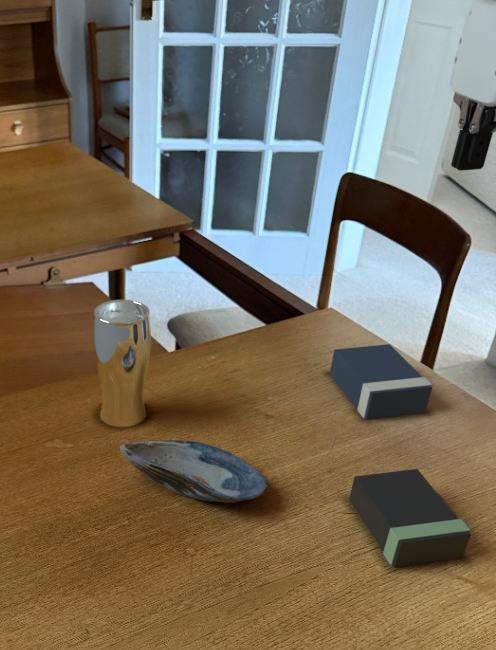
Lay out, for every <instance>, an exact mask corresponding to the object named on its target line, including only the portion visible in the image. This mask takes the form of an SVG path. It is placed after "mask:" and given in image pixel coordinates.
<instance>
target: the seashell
mask: <svg viewBox="0 0 496 650" xmlns="http://www.w3.org/2000/svg"><path fill="white" fill-rule="evenodd" d="M119 451H120V453H121V455H122V456H123V457H124V458H125V459H126V460H127V462H129V463H130V465H132V467H134V468H135V469H136V470H137V471H138V472H139V473H141V474H142V475H143V476H145V477H146V478H147V479H148V480H150V481H152V482H153V483H155V484H156V485H159V486H161V487H164V488H165V489H168V490H170V491H172V492H174V493H176V494H178V495H181V496H183V497H187V498H190V499H194V500H198V501H203V502H219V503H237V502H240V501H249V500H253V499H257V498H259V497H261V496H262V495H263V494H264V493H265V491H267V489H268V482H267V479H266V477H265V475H264V474H263V473H261V472H260V471H259V470H258V469H256V468H255V467H254V466H253V465H251V464H249V462H247V461H245V460H244V459H243V458H240V457H239V456H238V455H235V454H234V453H233V452H230V451H228V450H224V449H222V448H220V447H216V446H214V445H211V444H207V443H203V442H199V441H192V440H184V439H179V440H178V439H176V440H175V439H173V440H171V439H159V440H158V439H157V440H156V439H153V440H148V441H135V442H125V443H122V444H121V445H119ZM199 478H200V479H202V480H203V481H202V480H200V479H199ZM205 482H206V483H205ZM207 483H208V484H207Z"/></svg>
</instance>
